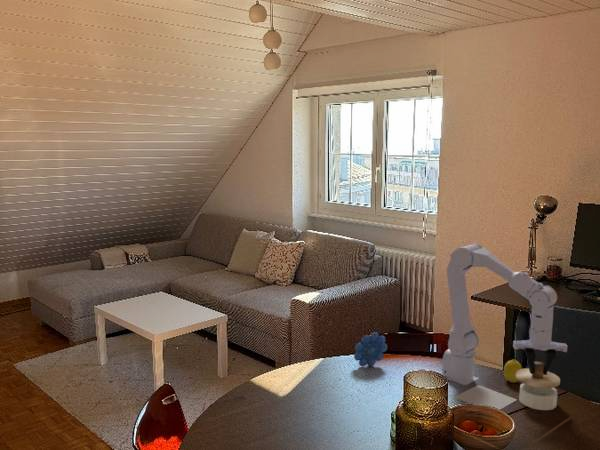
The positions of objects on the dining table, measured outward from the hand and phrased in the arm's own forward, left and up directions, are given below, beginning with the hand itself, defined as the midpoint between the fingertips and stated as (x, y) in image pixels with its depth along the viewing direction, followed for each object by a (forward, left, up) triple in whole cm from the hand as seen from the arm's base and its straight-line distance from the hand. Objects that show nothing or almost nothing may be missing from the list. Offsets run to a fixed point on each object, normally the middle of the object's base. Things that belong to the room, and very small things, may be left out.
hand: (537, 373), depth 166 cm
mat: (-11, -10, -10) cm, 17 cm away
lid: (0, 0, -2) cm, 2 cm away
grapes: (-50, -17, -10) cm, 54 cm away
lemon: (-12, +7, -10) cm, 17 cm away
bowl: (0, 0, -10) cm, 10 cm away
